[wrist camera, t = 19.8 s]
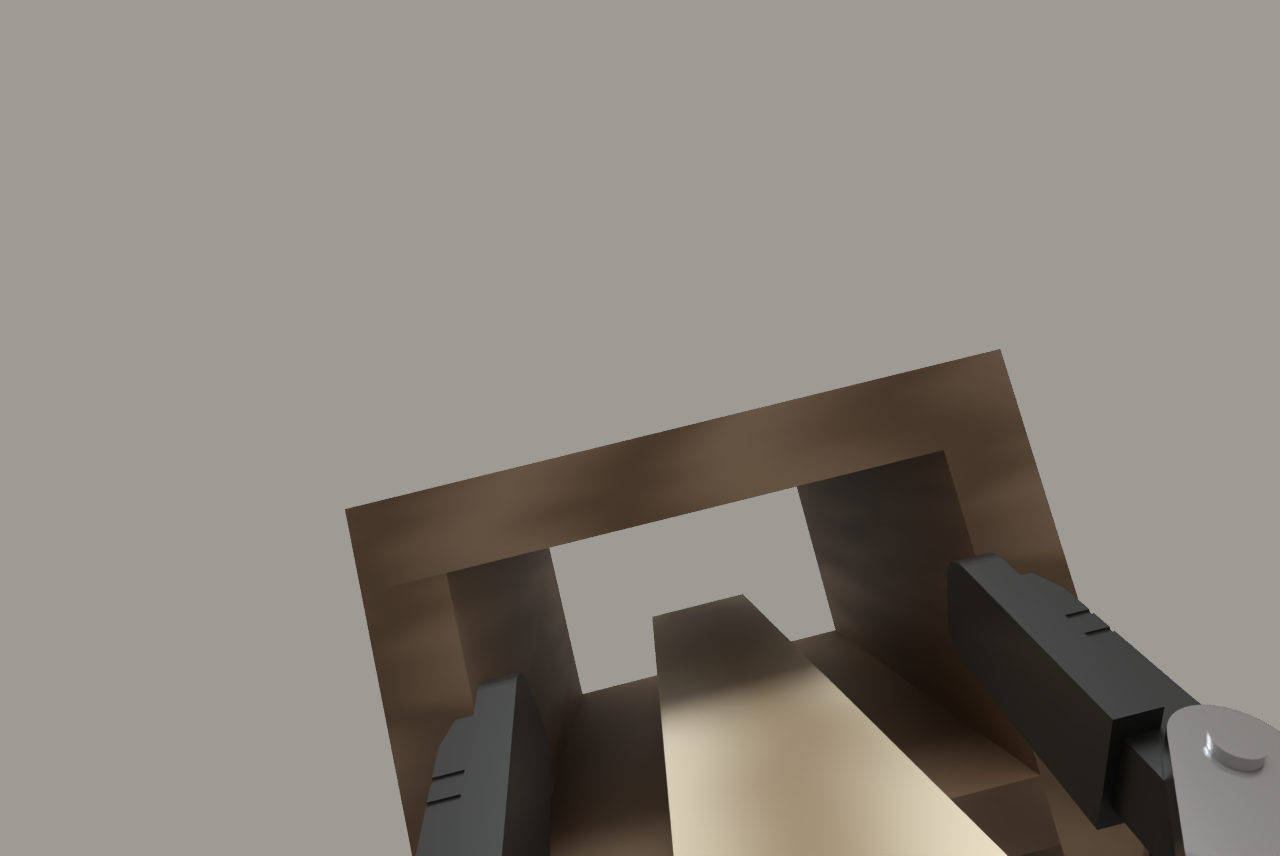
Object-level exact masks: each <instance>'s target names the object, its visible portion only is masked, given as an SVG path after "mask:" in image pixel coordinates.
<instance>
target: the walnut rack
mask: <svg viewBox="0 0 1280 856" xmlns="http://www.w3.org/2000/svg"><path fill="white" fill-rule="evenodd" d="M796 486H797V489H798V492H799V496H800V500H801V504H802V507H803V510H804V514H805V518H806V522H807V525H808V529H809V533H810V537H811V541H812V544H813V548H814V551H815V555H816V559H817V563H818V566H819V570H820V574H821V578H822V581H823V585H824V588H825V592H826V596H827V600H828V603H829V607H830V611H831V615H832V618H833V621H834V626H835V629H836V630H835V631H832V632H827V633H823V634H820V635H816V636H812V637H808V638H804V639H800V640H796V641H792V643H793V644H794V645H795V646H796V647H797V648H798V649H799V650H800V651H801V652H802V653H803V654H804V655H805V656H806V657H807V658H808V659H809V660H810V661H811V662H812V663H813V664H814V665H815V666H816V667H817V668H818V669H819V670H820V671H821V672H822V673H823V674H824V675H825V676H826V677H827V678H828V679H829V680H830V681H831V682H832V683H833V684H834V685H835V686H836V687H837V688H838V689H839V690H840V691H841V692H842V693H843V694H844V695H845V696H846V697H847V698H848V699H849V700H850V701H851V702H852V703H853V704H854V705H855V706H856V707H857V708H858V709H859V710H860V711H861V712H862V713H863V714H864V715H865V716H867V717H868V718H869V719H870V720H871V721H872V722H873V723H874V724H875V725H876V726H877V727H878V728H879V729H880V730H881V731H882V732H883V733H884V734H885V735H886V736H887V737H888V738H889V739H890V740H891V741H892V742H893V743H894V744H895V745H896V746H897V747H898V748H899V749H900V750H901V751H902V752H903V753H904V754H905V755H906V756H907V757H908V758H909V759H910V760H911V761H912V762H913V763H914V764H915V765H916V766H917V767H918V768H919V769H920V770H921V771H922V772H923V773H924V774H925V775H926V776H927V777H928V778H929V779H930V780H931V781H932V782H933V783H934V784H935V785H936V786H937V787H938V788H939V789H940V790H941V791H942V792H943V793H945V794H946V795H947V796H948V797H949V798H950V799H951V800H952V801H953V802H954V803H955V804H956V805H957V806H958V807H959V808H960V809H961V810H962V811H963V812H964V813H965V814H966V815H967V816H968V817H969V818H970V819H971V820H972V821H973V822H974V823H975V824H976V825H977V826H978V827H979V828H980V829H981V830H982V831H983V832H984V833H985V834H986V835H987V836H988V837H989V838H990V839H991V840H992V841H993V842H994V843H995V844H996V845H997V846H998V847H999V848H1000V849H1001V850H1002V851H1003V852H1004V853H1005V854H1006V855H1007V856H1143V847H1144V845H1143V844H1142V843H1141V842H1140V841H1139V839H1138V838H1137V837H1136V836H1135V835H1134V833H1133V832H1132V831H1131V830H1130V829H1129V828H1128V826H1127V825H1126V824H1125V823H1123V824H1119V825H1115V826H1111V827H1108V828H1104V829H1100V830H1097V829H1096V828H1095V827H1094V826H1093V824H1092V823H1091V822H1090V821H1089V819H1088V818H1087V817H1086V815H1085V814H1084V813H1083V812H1082V810H1081V809H1080V808H1079V807H1078V805H1077V804H1076V803H1075V802H1074V800H1073V799H1072V798H1071V797H1070V795H1069V794H1068V793H1067V792H1066V790H1065V789H1064V788H1063V787H1062V785H1061V784H1060V783H1059V782H1058V780H1057V779H1056V778H1055V777H1054V775H1053V774H1052V773H1051V772H1050V770H1049V769H1048V768H1047V767H1046V765H1045V764H1044V763H1043V762H1042V760H1041V759H1040V758H1039V757H1038V755H1037V754H1036V753H1035V752H1034V750H1033V749H1032V748H1031V746H1030V745H1029V744H1028V743H1027V741H1026V740H1025V739H1024V738H1023V736H1022V735H1021V734H1020V733H1019V731H1018V730H1017V729H1016V728H1015V726H1014V725H1013V724H1012V723H1011V721H1010V720H1009V719H1008V718H1007V716H1006V715H1005V714H1004V713H1003V711H1002V710H1001V709H1000V708H999V706H998V705H997V704H996V703H995V701H994V700H993V699H992V698H991V696H990V695H989V694H988V693H987V691H986V690H985V689H984V688H983V686H982V685H981V684H980V683H979V681H978V680H977V679H976V678H975V676H974V675H973V674H972V672H971V671H970V670H969V669H968V667H967V666H966V665H965V664H964V662H963V661H962V660H961V658H960V657H959V655H958V654H957V652H956V650H955V648H954V646H953V643H952V641H951V638H950V634H949V630H948V603H947V569H948V565H949V564H950V563H951V562H954V561H958V560H962V559H966V558H970V557H974V556H978V555H982V554H986V553H995V554H997V555H998V556H1000V557H1001V558H1002V559H1003V560H1004V561H1005V562H1006V563H1008V564H1009V565H1010V566H1011V567H1012V568H1013V569H1014V570H1015V571H1016V572H1017V573H1019V574H1020V575H1025V574H1029V573H1034V574H1036V575H1038V576H1040V577H1042V578H1044V579H1046V580H1048V581H1051V582H1053V583H1055V584H1057V585H1059V586H1061V587H1063V588H1065V589H1066V590H1067V591H1068V592H1070V593H1071V594H1072V595H1073V596H1074V597H1075V598H1077V599H1078V597H1077V594H1076V591H1075V588H1074V585H1073V581H1072V578H1071V575H1070V572H1069V568H1068V565H1067V562H1066V559H1065V556H1064V553H1063V549H1062V546H1061V543H1060V540H1059V536H1058V533H1057V530H1056V527H1055V524H1054V520H1053V517H1052V514H1051V511H1050V508H1049V504H1048V501H1047V498H1046V495H1045V491H1044V488H1043V485H1042V482H1041V478H1040V475H1039V472H1038V469H1037V466H1036V462H1035V459H1034V456H1033V453H1032V450H1031V447H1030V443H1029V440H1028V437H1027V434H1026V431H1025V427H1024V424H1023V421H1022V417H1021V414H1020V411H1019V408H1018V405H1017V402H1016V398H1015V395H1014V392H1013V389H1012V385H1011V382H1010V379H1009V376H1008V373H1007V369H1006V366H1005V363H1004V360H1003V357H1002V353H1001V350H1000V349H999V350H995V351H991V352H986V353H982V354H978V355H974V356H971V357H966V358H962V359H958V360H954V361H950V362H946V363H942V364H937V365H933V366H929V367H925V368H921V369H917V370H913V371H909V372H905V373H901V374H896V375H892V376H888V377H884V378H880V379H876V380H872V381H868V382H864V383H860V384H856V385H851V386H848V387H844V388H840V389H835V390H832V391H827V392H823V393H819V394H815V395H811V396H807V397H803V398H798V399H794V400H790V401H786V402H782V403H778V404H774V405H770V406H766V407H762V408H757V409H754V410H749V411H745V412H741V413H737V414H733V415H729V416H725V417H721V418H716V419H712V420H708V421H704V422H700V423H696V424H692V425H688V426H684V427H680V428H676V429H672V430H667V431H663V432H660V433H655V434H652V435H647V436H643V437H639V438H635V439H631V440H627V441H622V442H619V443H614V444H610V445H606V446H602V447H598V448H594V449H590V450H586V451H582V452H578V453H573V454H569V455H565V456H561V457H557V458H553V459H549V460H545V461H541V462H537V463H532V464H529V465H524V466H520V467H516V468H513V469H508V470H504V471H500V472H496V473H492V474H488V475H483V476H479V477H475V478H471V479H467V480H463V481H459V482H455V483H451V484H447V485H443V486H438V487H434V488H431V489H426V490H422V491H418V492H414V493H410V494H406V495H402V496H398V497H394V498H389V499H385V500H381V501H377V502H373V503H369V504H365V505H361V506H357V507H353V508H349V509H345V511H346V517H347V521H348V527H349V532H350V537H351V542H352V548H353V552H354V557H355V563H356V568H357V573H358V578H359V584H360V589H361V594H362V599H363V604H364V609H365V614H366V619H367V625H368V630H369V635H370V640H371V645H372V650H373V656H374V661H375V666H376V671H377V676H378V682H379V687H380V692H381V697H382V702H383V707H384V712H385V717H386V723H387V728H388V733H389V738H390V743H391V749H392V754H393V759H394V764H395V769H396V774H397V779H398V785H399V789H400V794H401V800H402V805H403V810H404V815H405V821H406V826H407V831H408V836H409V841H410V846H411V852H412V856H416V852H417V848H418V843H419V838H420V833H421V828H422V824H423V819H424V814H425V809H427V807H428V805H427V800H428V795H429V790H430V785H431V784H432V783H433V780H432V776H433V771H434V766H435V761H436V756H437V751H438V748H439V746H440V744H441V743H442V741H443V739H444V738H445V736H446V734H447V733H448V731H449V729H450V728H451V726H452V724H453V723H454V721H455V720H457V719H461V718H465V717H469V716H473V714H474V708H475V702H476V695H477V690H478V686H479V684H480V682H482V681H486V680H490V679H494V678H498V677H502V676H506V675H510V674H514V673H518V672H522V673H523V674H524V676H525V678H526V680H527V683H528V686H529V688H530V691H531V693H532V696H533V698H534V701H535V703H536V706H537V709H538V711H539V714H540V716H541V719H542V721H543V724H544V727H545V729H546V733H547V736H548V741H549V746H550V753H551V822H550V856H674V854H673V843H672V831H671V820H670V809H669V798H668V787H667V775H666V764H665V753H664V742H663V731H662V719H661V708H660V697H659V686H658V675H657V676H654V677H650V678H645V679H641V680H637V681H633V682H630V683H626V684H621V685H617V686H613V687H610V688H606V689H602V690H598V691H594V692H590V693H586V694H582V691H581V686H580V682H579V678H578V673H577V669H576V664H575V661H574V655H573V651H572V647H571V642H570V638H569V633H568V629H567V625H566V620H565V616H564V611H563V607H562V602H561V598H560V594H559V589H558V585H557V580H556V576H555V571H554V567H553V563H552V558H551V554H550V549H549V548H550V547H553V546H557V545H562V544H566V543H570V542H574V541H578V540H582V539H586V538H590V537H594V536H598V535H602V534H606V533H610V532H614V531H618V530H622V529H626V528H630V527H634V526H639V525H643V524H647V523H650V522H655V521H659V520H663V519H667V518H670V517H675V516H679V515H683V514H687V513H691V512H695V511H699V510H703V509H707V508H711V507H715V506H719V505H723V504H727V503H731V502H735V501H740V500H744V499H747V498H752V497H756V496H760V495H764V494H767V493H772V492H776V491H780V490H784V489H788V488H792V487H796Z"/></svg>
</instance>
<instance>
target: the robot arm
mask: <svg viewBox="0 0 1280 856" xmlns="http://www.w3.org/2000/svg"><path fill="white" fill-rule="evenodd" d="M947 603H948V630H949V634H950V638H951V641H952V643H953V646H954V648H955V650H956V652H957V654H958V655H959V657H960V658H961V660H962V661H963V662H964V664H965V665H966V666H967V667H968V669H969V670H970V671H971V672H972V674H973V675H974V676H975V678H976V679H977V680H978V681H979V683H980V684H981V685H982V686H983V688H984V689H985V690H986V691H987V693H988V694H989V695H990V696H991V698H992V699H993V700H994V701H995V703H996V704H997V705H998V706H999V708H1000V709H1001V710H1002V711H1003V713H1004V714H1005V715H1006V716H1007V718H1008V719H1009V720H1010V721H1011V723H1012V724H1013V725H1014V726H1015V728H1016V729H1017V730H1018V731H1019V733H1020V734H1021V735H1022V736H1023V738H1024V739H1025V740H1026V741H1027V743H1028V744H1029V745H1030V746H1031V748H1032V749H1033V750H1034V752H1035V753H1036V754H1037V755H1038V757H1039V758H1040V759H1041V760H1042V762H1043V763H1044V764H1045V765H1046V767H1047V768H1048V769H1049V770H1050V772H1051V773H1052V774H1053V775H1054V777H1055V778H1056V779H1057V780H1058V782H1059V783H1060V784H1061V785H1062V787H1063V788H1064V789H1065V790H1066V792H1067V793H1068V794H1069V795H1070V797H1071V798H1072V799H1073V800H1074V802H1075V803H1076V804H1077V805H1078V807H1079V808H1080V809H1081V810H1082V812H1083V813H1084V814H1085V815H1086V817H1087V818H1088V819H1089V821H1090V822H1091V823H1092V824H1093V826H1094V827H1095V828H1096V829H1097V830H1100V829H1104V828H1108V827H1111V826H1115V825H1119V824H1123V823H1125V824H1126V825H1127V826H1128V828H1129V829H1130V830H1131V831H1132V832H1133V833H1134V835H1135V836H1136V837H1137V838H1138V839H1139V841H1140V842H1141V843H1142V844H1143V845H1144V847H1143V856H1280V731H1278V730H1277V729H1275V728H1274V727H1272V726H1271V725H1269V724H1267V723H1265V722H1263V721H1262V720H1260V719H1257V718H1255V717H1253V716H1251V715H1249V714H1246V713H1243V712H1240V711H1237V710H1234V709H1230V708H1226V707H1221V706H1214V705H1201V704H1200V703H1199V702H1197V701H1196V700H1195V699H1194V698H1192V697H1191V696H1190V695H1189V694H1188V693H1186V692H1185V691H1184V690H1183V689H1182V688H1181V687H1179V686H1178V685H1177V684H1176V683H1175V682H1173V681H1172V680H1171V679H1170V678H1169V677H1168V676H1167V675H1165V674H1164V673H1163V672H1162V671H1161V670H1160V669H1158V668H1157V667H1156V666H1155V665H1154V664H1153V663H1151V662H1150V661H1149V660H1148V659H1147V658H1145V657H1144V656H1143V655H1142V654H1141V653H1140V652H1139V651H1137V650H1136V649H1135V648H1134V647H1133V646H1132V645H1130V644H1129V643H1128V642H1127V641H1125V640H1124V639H1123V638H1122V637H1121V636H1120V635H1118V633H1116V632H1115V631H1114V632H1112V631H1111V630H1110V627H1109V626H1108V625H1107V624H1106V623H1104V622H1103V621H1102V620H1101V619H1100V618H1099V617H1098V616H1096V615H1095V614H1094V613H1093V614H1091V613H1090V611H1089V609H1088V608H1087V607H1086V606H1085V605H1084V604H1082V603H1081V602H1080V601H1079V600H1078V599H1077V598H1075V597H1074V596H1073V595H1072V594H1071V593H1070V592H1068V591H1067V590H1066V589H1065V588H1063V587H1061V586H1059V585H1057V584H1055V583H1053V582H1051V581H1048V580H1046V579H1044V578H1042V577H1040V576H1038V575H1036V574H1034V573H1029V574H1025V575H1020V574H1019V573H1017V572H1016V571H1015V570H1014V569H1013V568H1012V567H1011V566H1010V565H1009V564H1008V563H1006V562H1005V561H1004V560H1003V559H1002V558H1001V557H1000V556H998V555H997V554H995V553H986V554H982V555H978V556H974V557H970V558H966V559H962V560H958V561H954V562H951V563H950V564H949V565H948V569H947ZM432 780H433V783H432V784H431V785H430V790H429V795H428V800H427V805H428V807H427V809H425V814H424V819H423V824H422V828H421V833H420V838H419V843H418V848H417V852H416V856H550V822H551V753H550V746H549V741H548V736H547V733H546V729H545V727H544V724H543V721H542V719H541V716H540V714H539V711H538V709H537V706H536V703H535V701H534V698H533V696H532V693H531V691H530V688H529V686H528V683H527V680H526V678H525V676H524V674H523V673H522V672H518V673H514V674H510V675H506V676H502V677H498V678H494V679H490V680H486V681H482V682H480V684H479V686H478V690H477V695H476V702H475V708H474V714H473V716H469V717H465V718H461V719H457V720H455V721H454V723H453V724H452V726H451V728H450V729H449V731H448V733H447V734H446V736H445V738H444V739H443V741H442V743H441V744H440V746H439V748H438V751H437V756H436V761H435V766H434V771H433V776H432Z"/></svg>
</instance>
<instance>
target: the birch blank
mask: <svg viewBox="0 0 1280 856" xmlns="http://www.w3.org/2000/svg"><path fill="white" fill-rule="evenodd" d="M653 630H654V641H655V652H656V663H657V674H658V686H659V697H660V708H661V719H662V731H663V742H664V753H665V764H666V775H667V787H668V798H669V809H670V820H671V831H672V843H673V854H674V856H1007V855H1006V854H1005V853H1004V852H1003V851H1002V850H1001V849H1000V848H999V847H998V846H997V845H996V844H995V843H994V842H993V841H992V840H991V839H990V838H989V837H988V836H987V835H986V834H985V833H984V832H983V831H982V830H981V829H980V828H979V827H978V826H977V825H976V824H975V823H974V822H973V821H972V820H971V819H970V818H969V817H968V816H967V815H966V814H965V813H964V812H963V811H962V810H961V809H960V808H959V807H958V806H957V805H956V804H955V803H954V802H953V801H952V800H951V799H950V798H949V797H948V796H947V795H946V794H945V793H943V792H942V791H941V790H940V789H939V788H938V787H937V786H936V785H935V784H934V783H933V782H932V781H931V780H930V779H929V778H928V777H927V776H926V775H925V774H924V773H923V772H922V771H921V770H920V769H919V768H918V767H917V766H916V765H915V764H914V763H913V762H912V761H911V760H910V759H909V758H908V757H907V756H906V755H905V754H904V753H903V752H902V751H901V750H900V749H899V748H898V747H897V746H896V745H895V744H894V743H893V742H892V741H891V740H890V739H889V738H888V737H887V736H886V735H885V734H884V733H883V732H882V731H881V730H880V729H879V728H878V727H877V726H876V725H875V724H874V723H873V722H872V721H871V720H870V719H869V718H868V717H867V716H865V715H864V714H863V713H862V712H861V711H860V710H859V709H858V708H857V707H856V706H855V705H854V704H853V703H852V702H851V701H850V700H849V699H848V698H847V697H846V696H845V695H844V694H843V693H842V692H841V691H840V690H839V689H838V688H837V687H836V686H835V685H834V684H833V683H832V682H831V681H830V680H829V679H828V678H827V677H826V676H825V675H824V674H823V673H822V672H821V671H820V670H819V669H818V668H817V667H816V666H815V665H814V664H813V663H812V662H811V661H810V660H809V659H808V658H807V657H806V656H805V655H804V654H803V653H802V652H801V651H800V650H799V649H798V648H797V647H796V646H795V645H794V644H793V643H792V642H791V641H789V640H788V638H786V637H785V636H784V635H783V634H782V633H781V632H780V631H779V630H778V629H777V628H776V627H775V626H774V625H773V624H772V623H771V622H770V621H769V620H768V619H767V618H766V617H765V616H764V615H763V614H762V613H761V612H760V611H759V610H758V609H757V608H756V607H755V606H754V605H753V604H752V603H751V602H750V601H749V600H748V599H747V598H746V597H745V596H744V595H743V594H742V595H738V596H734V597H730V598H726V599H722V600H718V601H714V602H710V603H706V604H702V605H698V606H694V607H691V608H686V609H682V610H679V611H674V612H670V613H666V614H662V615H659V616H654V617H653Z"/></svg>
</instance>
